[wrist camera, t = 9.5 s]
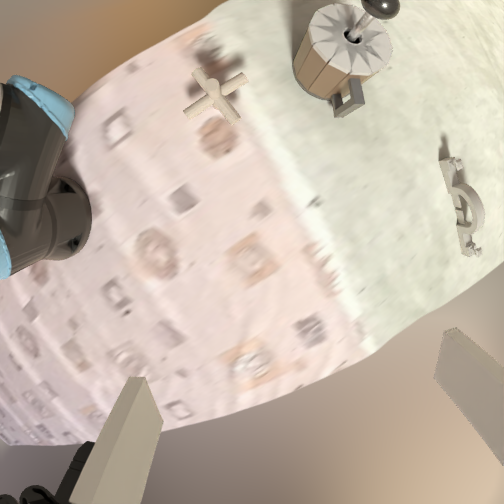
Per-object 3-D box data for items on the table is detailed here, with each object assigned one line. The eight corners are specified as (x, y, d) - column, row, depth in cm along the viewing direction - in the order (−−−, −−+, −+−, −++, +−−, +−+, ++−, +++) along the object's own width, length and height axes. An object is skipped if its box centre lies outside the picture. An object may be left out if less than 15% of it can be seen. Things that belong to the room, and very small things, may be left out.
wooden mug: (301, 121, 42) (323, 98, 29) (288, 44, 39) (302, 1, 25) (364, 120, 42) (405, 101, 29) (349, 45, 39) (380, 9, 25)
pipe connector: (227, 66, 40) (223, 39, 30) (263, 111, 42) (267, 92, 32) (175, 99, 41) (158, 80, 31) (210, 146, 43) (200, 136, 33)
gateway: (436, 161, 44) (463, 160, 37) (444, 157, 44) (470, 156, 36) (460, 253, 49) (484, 263, 41) (467, 248, 49) (491, 258, 41)
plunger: (309, 87, 38) (361, 18, 17) (301, 43, 36) (339, -40, 15) (357, 87, 38) (433, 33, 17) (348, 45, 36) (409, -24, 15)
